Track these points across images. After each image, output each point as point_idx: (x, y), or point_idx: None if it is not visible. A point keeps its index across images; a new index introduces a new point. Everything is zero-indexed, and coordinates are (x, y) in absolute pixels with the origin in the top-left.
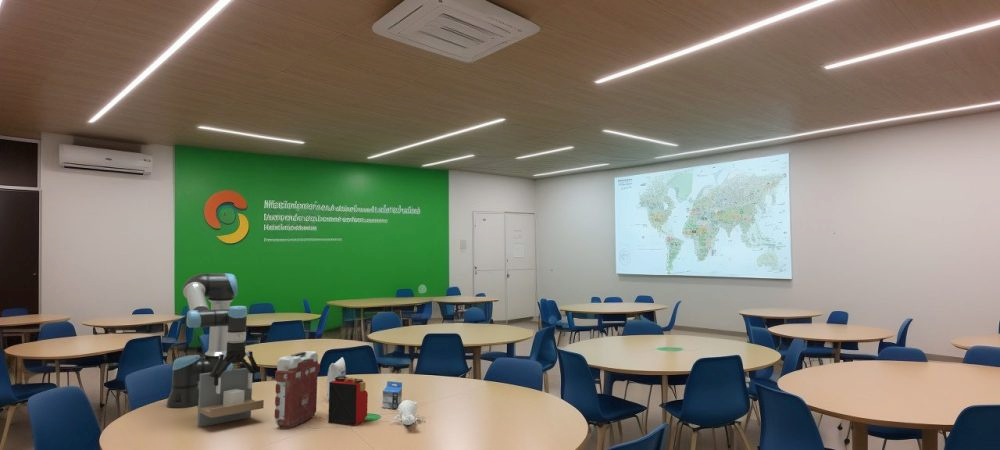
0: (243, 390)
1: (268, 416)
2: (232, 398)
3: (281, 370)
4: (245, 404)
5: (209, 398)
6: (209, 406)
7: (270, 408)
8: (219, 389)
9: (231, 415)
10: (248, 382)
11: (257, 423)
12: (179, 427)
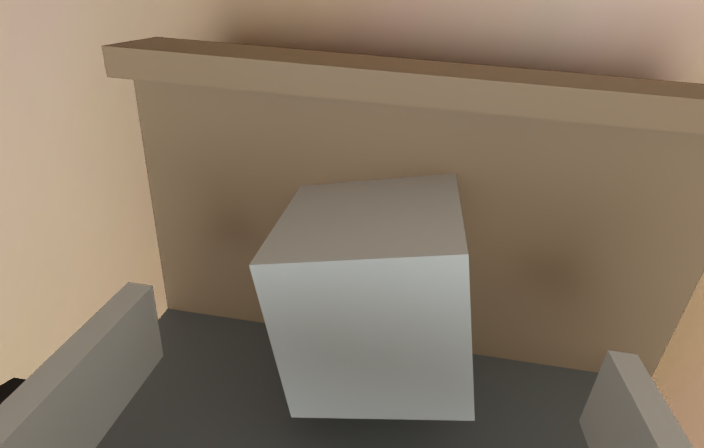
0: (260, 277)
1: (129, 153)
2: (453, 215)
3: None
4: (340, 65)
5: None
6: (562, 361)
7: (66, 313)
8: (648, 404)
9: None
10: (113, 398)
11: (263, 27)
12: (658, 364)
